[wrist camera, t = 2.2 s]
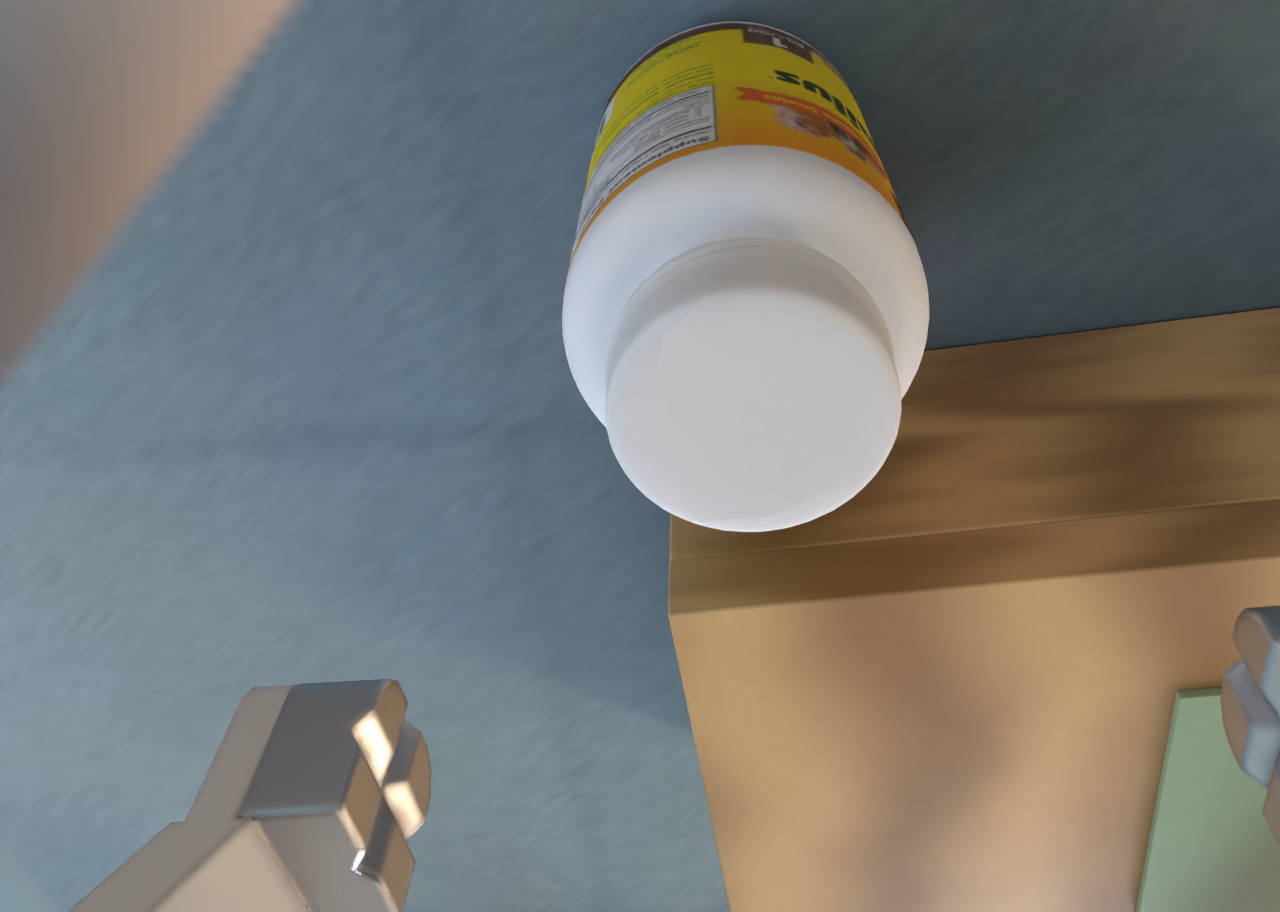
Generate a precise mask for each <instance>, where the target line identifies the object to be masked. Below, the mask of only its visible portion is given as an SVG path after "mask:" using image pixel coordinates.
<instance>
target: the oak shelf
mask: <svg viewBox="0 0 1280 912" xmlns="http://www.w3.org/2000/svg"><path fill="white" fill-rule="evenodd" d="M669 561H670V563H669V589H668V618H669V622H670V627H671V632H672V637H673V641H674V646H675V651H676V656H677V660H678V665H679V670H680V675H681V680H682V684H683V689H684V694H685V699H686V703H687V708H688V713H689V718H690V722H691V727H692V732H693V737H694V741H695V746H696V751H697V756H698V761H699V765H700V770H701V775H702V780H703V784H704V789H705V794H706V799H707V803H708V808H709V813H710V818H711V822H712V827H713V832H714V837H715V842H716V846H717V851H718V856H719V861H720V865H721V870H722V875H723V880H724V884H725V889H726V894H727V899H728V903H729V908H730V912H1280V848H1279V846H1278V844H1277V842H1276V840H1275V838H1274V836H1273V834H1272V832H1271V830H1270V828H1269V826H1268V824H1267V822H1266V820H1265V818H1264V816H1263V814H1262V811H1263V807H1264V803H1265V799H1266V795H1267V791H1268V789H1266V788H1265V787H1263V786H1262V785H1261V784H1259V783H1258V782H1256V781H1255V780H1253V779H1252V778H1250V777H1249V776H1248V775H1246V774H1245V773H1243V772H1242V771H1241V769H1240V767H1239V765H1238V763H1237V761H1236V759H1235V757H1234V755H1233V753H1232V750H1231V748H1230V745H1229V742H1228V739H1227V736H1226V733H1225V730H1224V726H1223V719H1222V710H1221V701H1220V695H1221V689H1222V683H1223V677H1224V672H1225V671H1226V670H1227V669H1228V668H1229V667H1231V666H1232V665H1233V664H1234V663H1235V662H1236V661H1238V660H1239V659H1240V658H1241V655H1240V653H1239V651H1238V649H1237V647H1236V645H1235V644H1234V642H1233V640H1232V635H1233V631H1234V626H1235V622H1236V618H1237V617H1238V616H1239V615H1240V613H1241V612H1242V611H1243V610H1244V608H1254V607H1265V606H1276V605H1280V308H1272V309H1264V310H1255V311H1247V312H1239V313H1231V314H1223V315H1215V316H1207V317H1198V318H1190V319H1182V320H1174V321H1166V322H1158V323H1150V324H1141V325H1133V326H1125V327H1117V328H1109V329H1101V330H1093V331H1084V332H1076V333H1068V334H1060V335H1052V336H1044V337H1036V338H1027V339H1019V340H1011V341H1003V342H995V343H987V344H979V345H970V346H962V347H954V348H946V349H938V350H930V351H924V352H923V356H922V359H921V362H920V365H919V368H918V370H917V372H916V374H915V376H914V378H913V380H912V382H911V384H910V386H909V388H908V390H907V392H906V394H905V395H904V397H903V398H902V400H901V418H900V424H899V429H898V433H897V437H896V439H895V442H894V445H893V447H892V449H891V451H890V453H889V455H888V456H887V458H886V460H885V462H884V464H883V465H882V467H881V468H880V470H879V471H878V472H877V474H876V475H875V476H874V477H873V478H872V480H871V481H870V482H869V483H868V484H867V485H866V486H865V487H864V488H863V489H862V490H860V491H859V492H858V493H857V494H856V495H855V496H854V497H853V498H851V499H850V500H848V501H847V502H846V503H844V504H843V505H841V506H839V507H838V508H836V509H835V510H833V511H831V512H829V513H827V514H825V515H822V516H820V517H818V518H816V519H814V520H811V521H809V522H806V523H802V524H799V525H796V526H792V527H789V528H784V529H778V530H771V531H763V532H738V531H724V530H719V529H714V528H709V527H705V526H702V525H698V524H695V523H692V522H690V521H687V520H684V519H682V518H680V517H678V516H675V515H673V514H671V513H670V552H669Z"/></svg>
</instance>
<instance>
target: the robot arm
mask: <svg viewBox="0 0 1280 912" xmlns="http://www.w3.org/2000/svg"><path fill="white" fill-rule="evenodd" d="M1232 640H1233V642H1234V644H1235V645H1236V647H1237V649H1238V651H1239V653H1240V655H1241V658H1240V659H1239V660H1238V661H1236V662H1235V663H1234V664H1233V665H1232V666H1231V667H1229V668H1228V669H1227V670H1226V671H1225V672H1224V677H1223V683H1222V689H1221V695H1220V701H1221V710H1222V719H1223V726H1224V730H1225V733H1226V736H1227V739H1228V742H1229V745H1230V748H1231V750H1232V753H1233V755H1234V757H1235V759H1236V761H1237V763H1238V765H1239V767H1240V769H1241V771H1242V772H1243V773H1245V774H1246V775H1248V776H1249V777H1250V778H1252V779H1253V780H1255V781H1256V782H1258V783H1259V784H1261V785H1262V786H1263V787H1265V788H1266V789H1268V791H1267V795H1266V799H1265V803H1264V807H1263V811H1262V814H1263V816H1264V818H1265V820H1266V822H1267V824H1268V826H1269V828H1270V830H1271V832H1272V834H1273V836H1274V838H1275V840H1276V842H1277V844H1278V846H1279V848H1280V605H1276V606H1265V607H1254V608H1244V610H1243V611H1242V612H1241V613H1240V615H1239V616H1238V617H1237V618H1236V622H1235V626H1234V631H1233V635H1232ZM407 705H408V701H407V699H406V697H405V695H404V693H403V691H402V689H401V687H400V685H399V682H398V681H396V680H390V679H381V680H363V681H344V682H326V683H308V684H298V685H287V686H269V687H253V688H252V689H251V690H250V691H249V692H248V693H247V694H246V695H245V696H243V697H242V699H241V700H240V702H239V704H238V706H237V709H236V711H235V713H234V715H233V717H232V719H231V722H230V724H229V726H228V728H227V730H226V733H225V735H224V737H223V739H222V741H221V743H220V746H219V748H218V750H217V752H216V754H215V756H214V759H213V761H212V763H211V765H210V767H209V769H208V772H207V774H206V776H205V778H204V780H203V782H202V785H201V787H200V789H199V791H198V793H197V795H196V798H195V800H194V802H193V804H192V806H191V808H190V811H189V813H188V815H187V817H186V819H185V821H184V822H174V823H170V824H169V825H168V826H167V827H165V828H164V829H163V830H162V831H161V832H160V833H158V834H157V835H156V836H155V837H154V838H153V839H151V840H150V841H149V842H148V843H147V844H146V845H145V846H143V847H142V848H141V849H140V850H139V851H138V852H136V853H135V854H134V855H133V856H132V857H131V858H130V859H128V860H127V861H126V862H125V863H124V864H123V865H121V866H120V867H119V868H118V869H117V870H116V871H114V872H113V873H112V874H111V875H110V876H109V877H108V878H106V879H105V880H104V881H103V882H102V883H101V884H99V885H98V886H97V887H96V888H95V889H94V890H93V891H91V892H90V893H89V894H88V895H87V896H86V897H84V898H83V899H82V900H81V901H80V902H79V903H77V904H76V905H75V906H74V907H73V908H72V909H71V910H69V911H68V912H403V909H404V905H405V901H406V897H407V893H408V889H409V885H410V881H411V877H412V873H413V869H414V865H415V859H414V857H413V855H412V853H411V850H410V848H409V846H408V844H407V842H406V841H407V840H408V839H409V838H410V837H411V836H412V835H413V834H414V833H415V832H416V831H417V830H418V829H419V828H420V827H421V826H422V824H423V823H424V822H425V820H426V815H427V811H428V806H429V802H430V797H431V764H430V759H429V753H428V748H427V745H426V743H425V741H424V738H423V736H422V733H421V731H419V730H418V729H416V728H415V727H413V726H412V725H410V724H409V723H407V722H406V721H404V716H405V713H406V709H407Z"/></svg>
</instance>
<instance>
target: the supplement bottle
mask: <svg viewBox="0 0 1280 912" xmlns="http://www.w3.org/2000/svg"><path fill="white" fill-rule="evenodd" d="M929 316H930V314H929V296H928V288H927V281H926V277H925V273H924V269H923V266H922V262H921V259H920V256H919V253H918V250H917V246H916V243H915V240H914V238H913V235H912V233H911V231H910V229H909V227H908V225H907V222H906V220H905V218H904V215H903V213H902V210H901V207H900V205H899V203H898V200H897V198H896V196H895V193H894V191H893V189H892V186H891V184H890V180H889V178H888V175H887V172H886V171H885V169H884V167H883V165H882V162H881V160H880V157H879V155H878V152H877V150H876V148H875V145H874V143H873V140H872V138H871V136H870V133H869V131H868V128H867V126H866V123H865V120H864V118H863V115H862V113H861V111H860V109H859V107H858V105H857V102H856V100H855V98H854V96H853V94H852V92H851V91H850V89H849V87H848V85H847V83H846V81H845V80H844V79H843V77H842V76H841V75H840V73H839V72H838V71H837V69H836V68H835V67H834V66H833V65H832V64H831V63H830V62H829V61H828V60H827V59H826V58H825V57H824V56H823V55H822V54H821V53H820V52H819V51H817V50H816V49H815V48H813V47H812V46H811V45H809V44H808V43H806V42H805V41H803V40H801V39H800V38H798V37H796V36H794V35H792V34H790V33H788V32H785V31H782V30H780V29H777V28H773V27H770V26H766V25H763V24H759V23H753V22H742V21H726V22H716V23H710V24H705V25H701V26H697V27H694V28H691V29H688V30H685V31H682V32H680V33H678V34H675V35H673V36H672V37H670V38H668V39H666V40H664V41H662V42H661V43H659V44H657V45H656V46H655V47H653V48H652V49H650V50H649V51H648V52H647V53H645V54H644V55H643V56H642V57H641V58H640V59H639V60H638V61H637V62H636V63H635V64H634V65H633V66H632V67H631V68H630V69H629V70H628V71H627V72H626V74H625V75H624V76H623V77H622V79H621V80H620V82H619V83H618V85H617V86H616V88H615V89H614V91H613V93H612V95H611V96H610V98H609V100H608V103H607V105H606V107H605V109H604V112H603V115H602V118H601V121H600V124H599V128H598V132H597V136H596V140H595V144H594V150H593V154H592V159H591V163H590V166H589V173H588V177H587V182H586V187H585V191H584V196H583V201H582V206H581V210H580V216H579V221H578V227H577V232H576V237H575V242H574V246H573V248H572V253H571V259H570V265H569V270H568V274H567V279H566V285H565V291H564V300H563V313H562V330H563V341H564V346H565V351H566V356H567V360H568V364H569V367H570V370H571V372H572V375H573V378H574V380H575V382H576V384H577V386H578V389H579V391H580V393H581V394H582V396H583V398H584V399H585V401H586V402H587V404H588V406H589V407H590V409H591V410H592V411H593V413H594V414H595V415H596V416H597V418H598V419H599V420H600V422H601V423H602V424H603V425H604V426H605V427H606V428H607V432H608V436H609V441H610V444H611V447H612V449H613V452H614V454H615V456H616V458H617V460H618V462H619V464H620V465H621V467H622V469H623V470H624V472H625V474H626V475H627V476H628V478H629V479H630V480H631V481H632V482H633V484H634V485H635V486H636V487H637V488H638V489H639V490H640V491H641V492H642V493H643V494H644V495H645V496H646V497H647V498H649V499H650V500H651V501H653V502H654V503H655V504H657V505H658V506H660V507H661V508H662V509H664V510H666V511H668V512H670V513H671V514H673V515H675V516H678V517H680V518H682V519H684V520H687V521H690V522H692V523H695V524H698V525H702V526H705V527H709V528H714V529H719V530H724V531H738V532H763V531H771V530H778V529H784V528H789V527H792V526H796V525H799V524H802V523H806V522H809V521H811V520H814V519H816V518H818V517H820V516H822V515H825V514H827V513H829V512H831V511H833V510H835V509H836V508H838V507H839V506H841V505H843V504H844V503H846V502H847V501H848V500H850V499H851V498H853V497H854V496H855V495H856V494H857V493H858V492H859V491H860V490H862V489H863V488H864V487H865V486H866V485H867V484H868V483H869V482H870V481H871V480H872V478H873V477H874V476H875V475H876V474H877V472H878V471H879V470H880V468H881V467H882V465H883V464H884V462H885V460H886V458H887V456H888V455H889V453H890V451H891V449H892V447H893V445H894V442H895V439H896V437H897V433H898V429H899V424H900V418H901V400H902V398H903V397H904V395H905V394H906V392H907V390H908V388H909V386H910V384H911V382H912V380H913V378H914V376H915V374H916V372H917V370H918V368H919V365H920V362H921V359H922V356H923V352H924V348H925V345H926V340H927V333H928V325H929Z"/></svg>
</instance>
